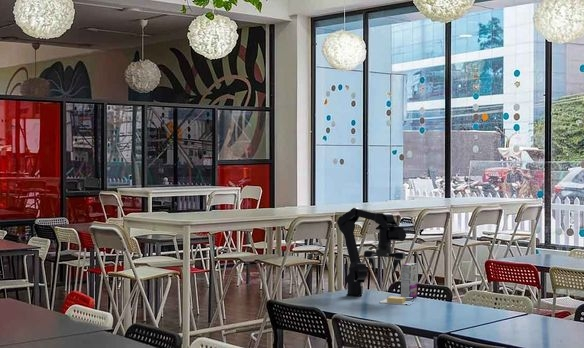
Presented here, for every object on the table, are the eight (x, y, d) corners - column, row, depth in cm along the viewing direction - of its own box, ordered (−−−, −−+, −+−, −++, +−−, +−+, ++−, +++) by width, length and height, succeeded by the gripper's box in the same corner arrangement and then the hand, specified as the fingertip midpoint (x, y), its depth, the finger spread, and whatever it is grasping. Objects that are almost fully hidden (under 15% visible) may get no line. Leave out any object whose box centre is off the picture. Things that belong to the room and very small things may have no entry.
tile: (390, 300, 402) (387, 302, 395) (390, 296, 402) (387, 297, 395) (405, 301, 399) (402, 303, 393) (405, 297, 399) (402, 298, 393)
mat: (379, 302, 395) (379, 298, 395) (386, 299, 408) (386, 295, 408) (409, 305, 390) (409, 301, 390) (415, 301, 404) (415, 297, 404)
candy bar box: (407, 296, 424) (408, 262, 424) (417, 297, 422) (418, 263, 422) (399, 298, 414) (400, 264, 414) (409, 299, 412) (410, 264, 412)
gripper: (361, 239, 403) (360, 273, 402) (400, 241, 396) (399, 275, 396) (367, 238, 413) (366, 271, 413) (406, 240, 407) (404, 273, 407)
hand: (383, 273), depth 407 cm, fingers open, 9 cm apart
